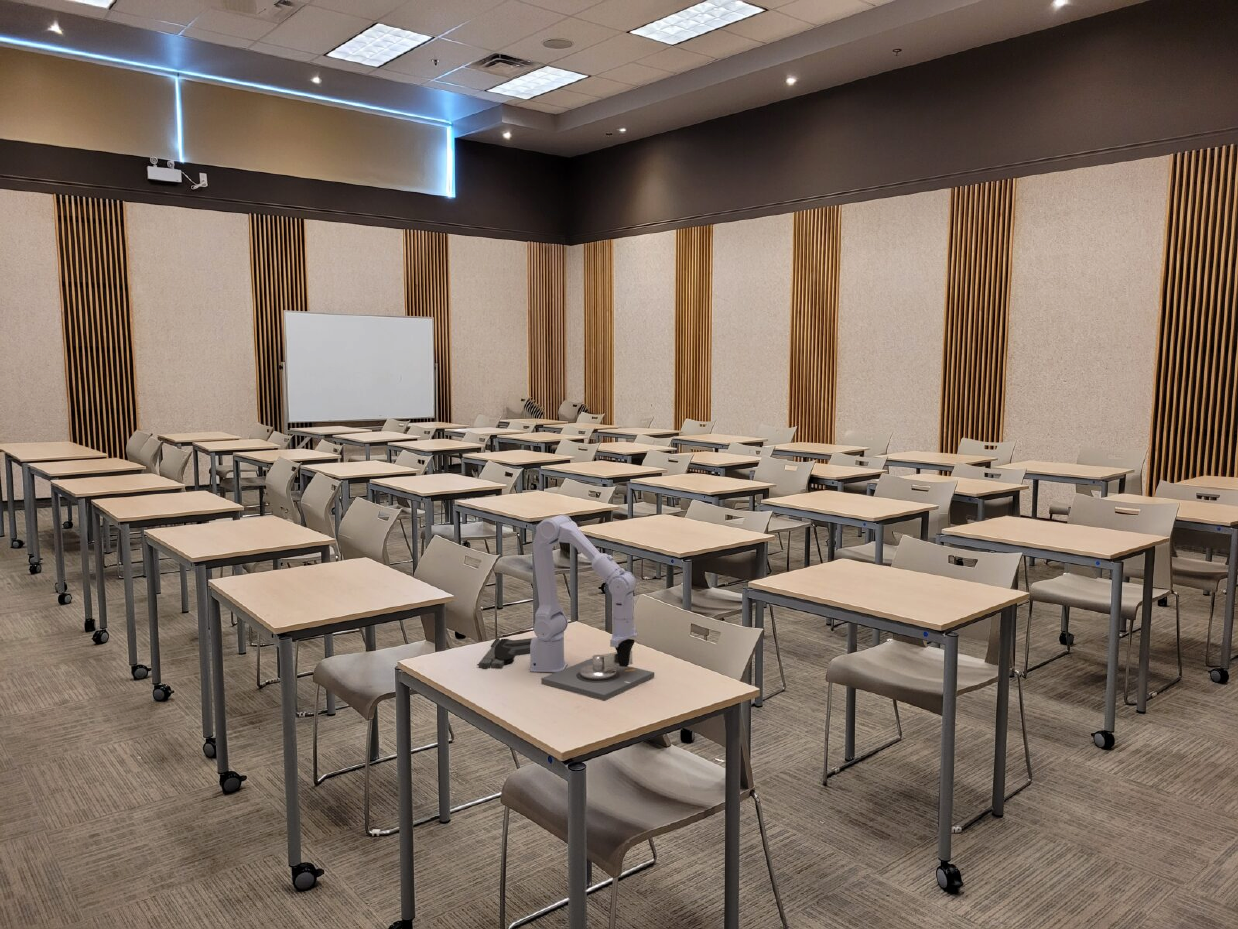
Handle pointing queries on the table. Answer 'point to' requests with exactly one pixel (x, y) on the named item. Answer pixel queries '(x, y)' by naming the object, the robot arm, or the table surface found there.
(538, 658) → the robot arm
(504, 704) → the table surface
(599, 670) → the dial
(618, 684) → the dial plate
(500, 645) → the pistol
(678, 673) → the table surface
